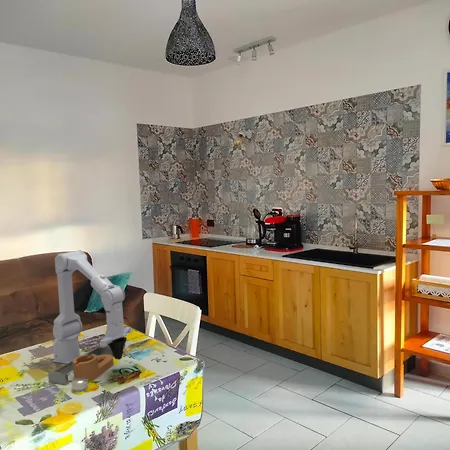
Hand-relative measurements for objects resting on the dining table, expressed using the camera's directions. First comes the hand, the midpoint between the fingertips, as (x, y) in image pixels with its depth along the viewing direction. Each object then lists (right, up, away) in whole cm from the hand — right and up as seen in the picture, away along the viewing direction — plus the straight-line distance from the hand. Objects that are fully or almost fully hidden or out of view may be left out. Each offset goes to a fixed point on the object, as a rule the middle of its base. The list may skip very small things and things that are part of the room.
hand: (118, 358), depth 145 cm
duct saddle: (-13, -6, +9) cm, 17 cm away
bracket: (-10, -6, +4) cm, 13 cm away
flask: (-12, -4, +33) cm, 35 cm away
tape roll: (-10, -7, -9) cm, 15 cm away
